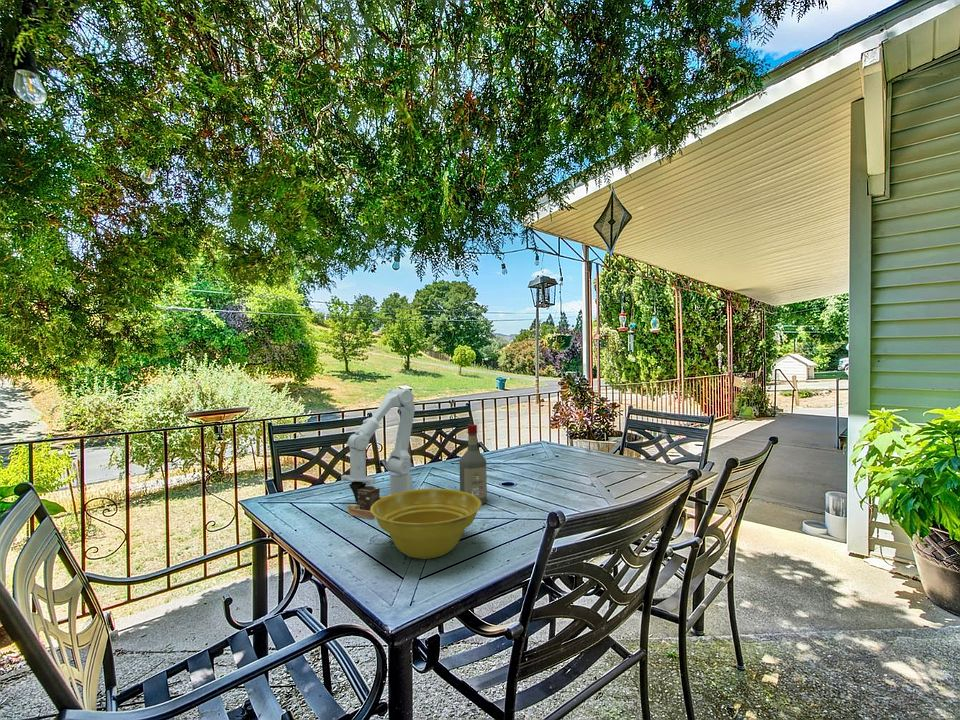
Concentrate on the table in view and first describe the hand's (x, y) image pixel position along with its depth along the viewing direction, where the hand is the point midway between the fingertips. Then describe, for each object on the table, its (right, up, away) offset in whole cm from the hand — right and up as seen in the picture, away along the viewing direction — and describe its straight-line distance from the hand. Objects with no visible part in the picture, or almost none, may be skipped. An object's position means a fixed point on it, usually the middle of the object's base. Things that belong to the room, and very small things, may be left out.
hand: (358, 501), depth 167 cm
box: (+4, -2, -2) cm, 5 cm away
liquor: (+44, -2, +3) cm, 44 cm away
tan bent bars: (+13, -2, -5) cm, 15 cm away
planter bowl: (+31, -2, -38) cm, 49 cm away
